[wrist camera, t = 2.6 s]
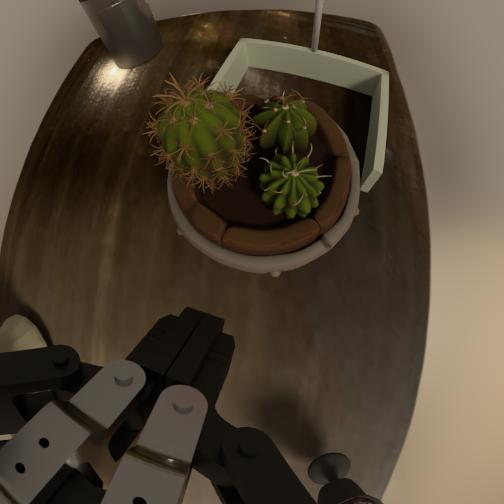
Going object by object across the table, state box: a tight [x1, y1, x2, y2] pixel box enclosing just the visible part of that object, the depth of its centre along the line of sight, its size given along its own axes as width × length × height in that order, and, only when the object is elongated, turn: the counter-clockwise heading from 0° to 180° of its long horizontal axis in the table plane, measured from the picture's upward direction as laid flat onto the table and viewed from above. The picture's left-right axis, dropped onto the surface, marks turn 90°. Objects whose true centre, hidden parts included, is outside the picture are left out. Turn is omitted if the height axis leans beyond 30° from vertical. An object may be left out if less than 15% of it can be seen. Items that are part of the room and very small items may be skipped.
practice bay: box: [207, 0, 389, 192], centre depth 21 cm, size 17×20×21 cm
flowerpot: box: [143, 72, 360, 277], centre depth 19 cm, size 14×15×20 cm
